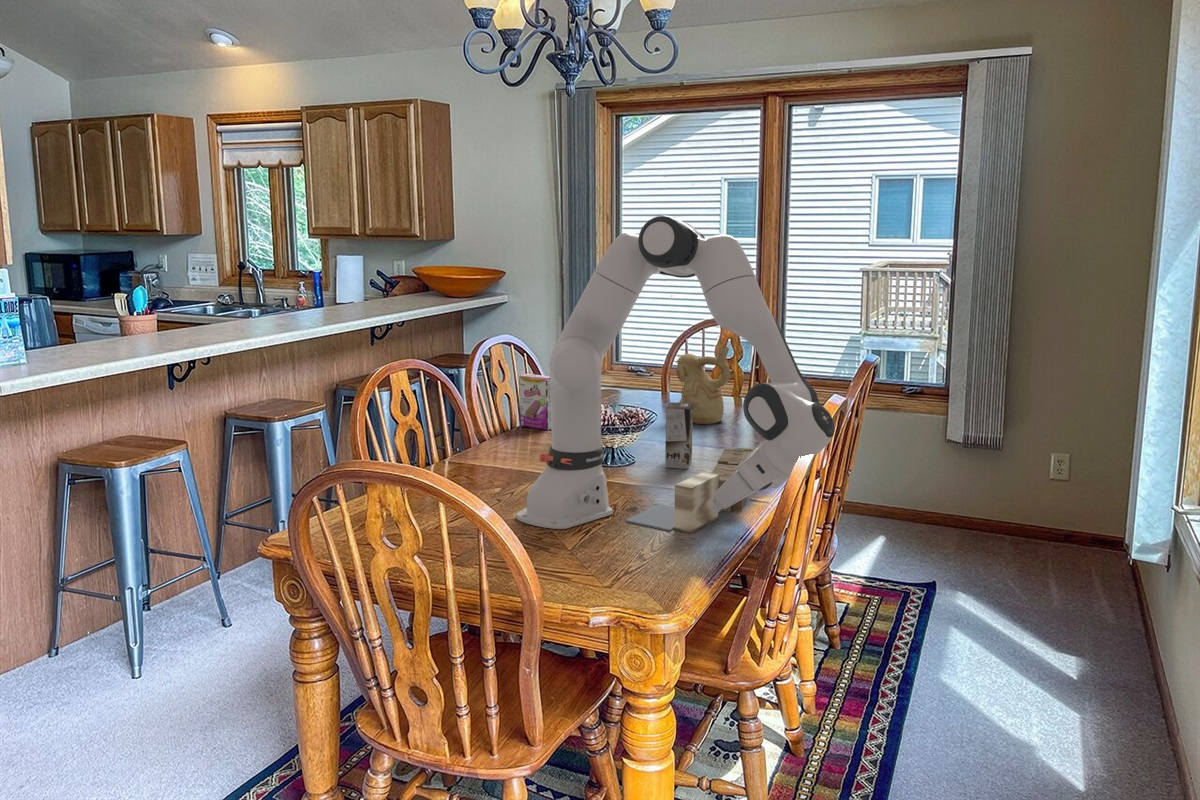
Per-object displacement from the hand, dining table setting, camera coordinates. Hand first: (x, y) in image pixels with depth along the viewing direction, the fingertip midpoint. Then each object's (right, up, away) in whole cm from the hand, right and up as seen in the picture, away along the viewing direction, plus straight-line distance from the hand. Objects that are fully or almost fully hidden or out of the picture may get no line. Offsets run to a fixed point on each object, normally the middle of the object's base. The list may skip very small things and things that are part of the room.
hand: (724, 504), depth 193 cm
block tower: (+6, -1, +27) cm, 28 cm away
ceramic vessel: (+7, +15, +106) cm, 108 cm away
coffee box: (-5, +4, +53) cm, 54 cm away
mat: (-12, -4, +9) cm, 16 cm away
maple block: (-5, -5, +5) cm, 9 cm away
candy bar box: (-45, +13, +98) cm, 109 cm away
